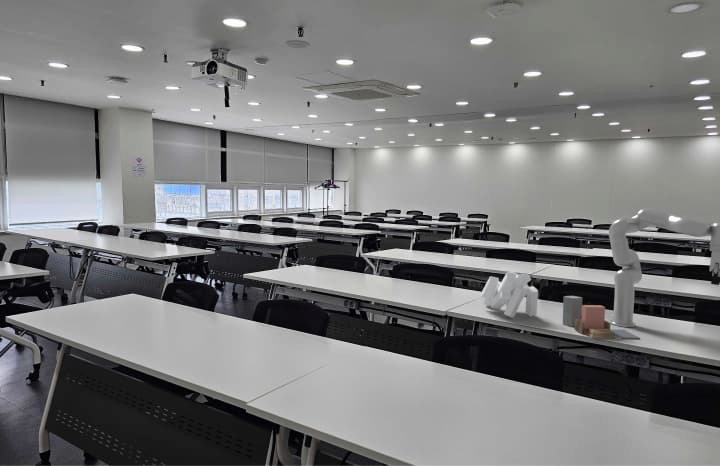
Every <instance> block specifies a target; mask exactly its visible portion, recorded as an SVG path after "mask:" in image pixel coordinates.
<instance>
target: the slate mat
mask: <svg viewBox="0 0 720 466" xmlns="http://www.w3.org/2000/svg"><path fill="white" fill-rule="evenodd" d="M610 330H611V331H612V333H613V336H616V337H617V338H619V339H621V340H640V339H641V337H640V336H637V335H635V334H633V333H631V332H629V331H627V330H625V329H620V328H619V329H614V328H613V329H611V328H610Z"/></svg>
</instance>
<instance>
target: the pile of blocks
mask: <svg viewBox="0 0 720 466" xmlns="http://www.w3.org/2000/svg"><path fill="white" fill-rule="evenodd" d="M531 280H532V278H531V276H530V274H528V273H524V272H522V273H520V274H518V273H516V271H507V272H506V273H505V275H504V277H503V279H502V281H499V277H496V276H492V275H491V276H489V278H488V280H487V281H486V283H485V285H484V287H483V289H482V291H481V298H483V299H484V302H483V304H484V305H485V306H487V307H489V306H491V307H490V308H492V309H496V310H501V308H503V307H504V306H506V308H505V310H504V313H503V315H505V316H507V317H509V318H512V319H514V317H515V316H516V313H517V312H518V309H519V308H520V304H521V303H522V302H523V300H524V298H525V297H526V298H525V313H526V314H527V315H528V316H529V317H530V318H532V317H536V316H537V313H538V301H539V300H538V298H539V290H538V289H537V288H536V287H535V286H533V285H532V286H529V285H528V283H530V282H531Z"/></svg>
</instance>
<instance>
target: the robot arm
mask: <svg viewBox="0 0 720 466" xmlns="http://www.w3.org/2000/svg"><path fill="white" fill-rule="evenodd" d="M651 226H654V227H657V228H661V229H665V230H669V231H672V232H675V233H679V234H683V235H687V236H691V237H695V238H702V237H710V243H709V251H710V252H711V257H710V264H709V272H712V273H711V274H712V275H711V279H710V285H715V286H719V285H720V222H709V221H697V220H691V219H687V218H685V217H684V218H683V217H680V216H678V215H676V214H675V213H671V212H668V211H667V212H666V211H662V210H659V209H657V208H654V207H652V208H651V207H648V208H647V207H645V208H641V209H640V210H639V211H638V212H637V215H635V216H632V217H623V218H619V219H616V220H615V221H614V222H612V224H611V225H610V227H609V229H608V237H609V243H610V248H611V253H612V259H613V262H614V264H615V265H616V266H618V267H622V269H619V270H618V271H616V273H615V275H614V278H613V279H614V281H613V282H614V301H613V313H612V314H611V318H612V319H609V323H611V324H610V325H614V326H617V327H623V328H635V327H636V325H637V323H635V322H633V321H634V319H633V318H634V305H635V286H634V285H637V284H638V283H640V282H641V280H642V278H643V273H642V268H641V261H640V258H639V255H638V253H637V252H636V251H635V250H634V249H630V246H629V241H628V239H627V236H626V235H627V234H633V233H637V232H639V231H641V230H644V229H646V228H648V227H651Z"/></svg>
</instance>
